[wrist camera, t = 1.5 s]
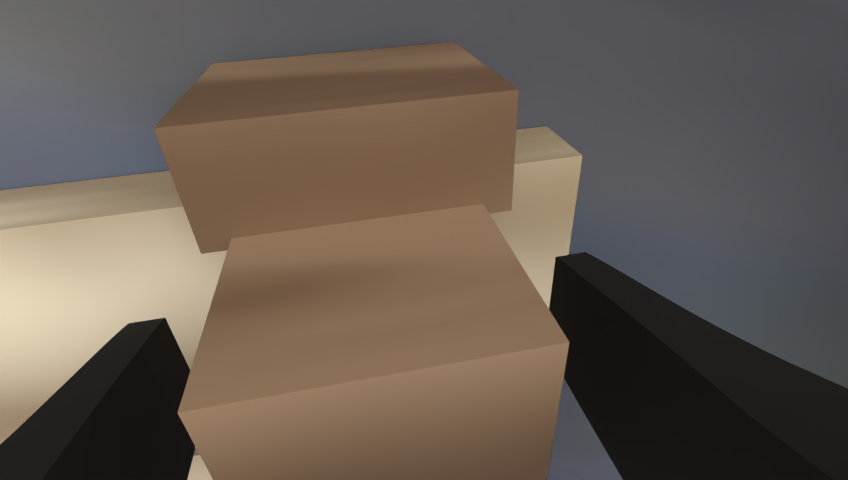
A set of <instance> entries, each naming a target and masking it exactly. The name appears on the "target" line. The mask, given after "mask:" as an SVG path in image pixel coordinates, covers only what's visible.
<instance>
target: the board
mask: <svg viewBox="0 0 848 480" xmlns="http://www.w3.org/2000/svg"><path fill="white" fill-rule="evenodd" d="M581 163H582V155H581V154H580V153H579V152H577V151H576V150H575V149H574V148H573V147H571V146H570V145H569V144H568V143H566V142H565V141H564V140H563V139H561V138H560V137H559V136H558V135H556V134H555V133H554V132H553V131H551V130H550V129H549V128H548V127H547V126H544V127H535V128H527V129H518V130H516V145H515V163H514V180H513V197H512V210H511V211H504V212H497V213H490V216H491V217H492V219H493V220H494V222H495V224H496V225H497V227H498V228H499V230H500V232H501V233H502V235H503V236H504V238H505V240H506V241H507V243H508V244H509V246H510V248H511V249H512V251H513V253H514V254H515V256H516V257H517V259H518V261H519V262H520V264H521V265H522V267H523V269H524V270H525V272H526V273H527V275H528V277H529V278H530V280H531V281H532V283H533V285H534V286H535V288H536V289H537V291H538V293H539V294H540V296H541V297H542V299H543V301H544V302H545V304H546V305H547V307H548V309H549V306H550V298H551V290H552V282H553V274H554V266H555V258H556V257H558V256H565V255H568V254H569V247H570V240H571V233H572V226H573V219H574V212H575V205H576V198H577V191H578V184H579V177H580V170H581ZM226 253H227V250H226V251H219V252H212V253H205V254H201V252H200V250H199V247H198V244H197V242H196V239H195V236H194V234H193V231H192V229H191V226H190V223H189V221H188V218H187V215H186V213H185V210H184V207H183V205H182V202H181V200H180V197H179V194H178V192H177V189H176V186H175V184H174V181H173V179H172V176H171V173H170V171H161V172H153V173H144V174H136V175H127V176H119V177H110V178H101V179H93V180H84V181H76V182H67V183H59V184H50V185H42V186H33V187H25V188H16V189H8V190H0V444H1V443H2V442H3V441H5V440H6V439H7V438H8V437H9V436H10V435H11V434H12V433H13V432H14V431H15V430H17V429H18V428H19V427H20V426H21V425H22V424H23V423H24V422H25V421H26V420H27V419H28V418H29V417H30V416H31V415H32V414H33V413H34V412H35V411H36V410H38V409H39V408H40V407H41V406H42V405H43V404H44V403H45V402H46V401H47V400H48V399H49V398H50V397H51V396H52V395H53V394H54V393H55V392H56V391H57V390H58V389H59V388H60V387H62V386H63V385H64V384H65V383H66V382H67V381H68V380H69V379H70V378H71V377H72V376H73V375H74V374H75V373H76V372H77V371H78V370H79V369H80V368H81V367H82V366H83V365H84V364H85V363H86V362H87V361H88V360H89V359H90V358H91V357H92V356H93V355H95V354H96V353H97V352H98V351H99V350H100V349H101V348H102V347H103V346H104V345H105V344H106V343H107V342H108V341H109V340H110V339H111V338H112V337H114V336H115V335H116V334H117V333H118V332H119V331H120V330H121V329H122V328H124V327H125V326H126V325H127V324H128V323H134V322H140V321H147V320H153V319H160V318H166V320H167V322H168V324H169V327H170V329H171V331H172V333H173V335H174V337H175V339H176V341H177V343H178V345H179V348H180V350H181V352H182V354H183V356H184V358H185V360H186V362H187V364H188V366H189V369H190V371H191V367H192V364H193V361H194V358H195V354H196V351H197V348H198V345H199V341H200V338H201V335H202V332H203V328H204V325H205V322H206V319H207V315H208V312H209V309H210V306H211V302H212V299H213V296H214V293H215V289H216V286H217V283H218V279H219V276H220V273H221V270H222V266H223V263H224V260H225V257H226ZM187 480H213V479H212V477H211V475H210V473H209V471H208V469H207V467H206V465H205V464H204V462H203V460H202V458H201V456H200V454H199V452H198V450H197V449H196V447H195V451H194V455H193V459H192V463H191V467H190V471H189V475H188V479H187Z"/></svg>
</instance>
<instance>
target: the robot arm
mask: <svg viewBox="0 0 848 480" xmlns="http://www.w3.org/2000/svg"><path fill="white" fill-rule="evenodd" d="M549 310H550V312H551V313H552V315H553V317H554V318H555V320H556V321H557V323H558V325H559V326H560V328H561V329H562V331H563V333H564V334H565V336H566V337H567V339H568V341H569V348H568V354H567V360H566V366H565V373H564V378H565V380H566V382H567V384H568V386H569V387H570V389H571V391H572V393H573V394H574V396H575V398H576V400H577V401H578V403H579V405H580V407H581V408H582V410H583V412H584V414H585V415H586V417H587V419H588V420H589V422H590V424H591V426H592V427H593V429H594V431H595V432H596V434H597V436H598V438H599V439H600V441H601V443H602V444H603V446H604V448H605V450H606V451H607V453H608V455H609V456H610V458H611V460H612V461H613V463H614V465H615V467H616V468H617V470H618V472H619V473H620V475H621V477H622V479H623V480H848V389H847V388H845V387H843V386H840V385H838V384H836V383H834V382H831V381H829V380H827V379H825V378H822V377H820V376H818V375H816V374H813V373H811V372H809V371H807V370H804V369H802V368H800V367H798V366H795V365H793V364H791V363H789V362H787V361H785V360H782V359H780V358H778V357H776V356H774V355H772V354H770V353H768V352H766V351H764V350H762V349H760V348H758V347H756V346H754V345H752V344H750V343H748V342H746V341H744V340H742V339H740V338H738V337H736V336H734V335H732V334H730V333H728V332H726V331H724V330H723V329H721V328H719V327H717V326H715V325H713V324H711V323H709V322H708V321H706V320H704V319H702V318H700V317H698V316H697V315H695V314H693V313H691V312H689V311H688V310H686V309H684V308H682V307H680V306H679V305H677V304H675V303H673V302H672V301H670V300H668V299H666V298H665V297H663V296H661V295H659V294H658V293H656V292H654V291H653V290H651V289H649V288H647V287H646V286H644V285H642V284H641V283H639V282H637V281H635V280H634V279H632V278H630V277H629V276H627V275H625V274H624V273H622V272H620V271H618V270H617V269H615V268H613V267H611V266H610V265H608V264H606V263H604V262H603V261H601V260H599V259H597V258H595V257H593V256H591V255H590V254H588V253H586V252H584V253H578V254H571V255H565V256H558V257H556V258H555V266H554V274H553V282H552V290H551V298H550V306H549ZM189 374H190V369H189V366H188V364H187V362H186V360H185V358H184V356H183V354H182V352H181V350H180V348H179V345H178V343H177V341H176V339H175V337H174V335H173V333H172V331H171V329H170V327H169V324H168V322H167V320H166V318H160V319H153V320H147V321H140V322H134V323H128V324H127V325H126V326H125V327H124V328H122V329H121V330H120V331H119V332H118V333H117V334H116V335H115V336H114V337H112V338H111V339H110V340H109V341H108V342H107V343H106V344H105V345H104V346H103V347H102V348H101V349H100V350H99V351H98V352H97V353H96V354H95V355H93V356H92V357H91V358H90V359H89V360H88V361H87V362H86V363H85V364H84V365H83V366H82V367H81V368H80V369H79V370H78V371H77V372H76V373H75V374H74V375H73V376H72V377H71V378H70V379H69V380H68V381H67V382H66V383H65V384H64V385H63V386H62V387H60V388H59V389H58V390H57V391H56V392H55V393H54V394H53V395H52V396H51V397H50V398H49V399H48V400H47V401H46V402H45V403H44V404H43V405H42V406H41V407H40V408H39V409H38V410H36V411H35V412H34V413H33V414H32V415H31V416H30V417H29V418H28V419H27V420H26V421H25V422H24V423H23V424H22V425H21V426H20V427H19V428H18V429H17V430H15V431H14V432H13V433H12V434H11V435H10V436H9V437H8V438H7V439H6V440H5V441H3V442H2V443H1V444H0V480H187V479H188V475H189V471H190V467H191V463H192V459H193V455H194V451H195V445H194V443H193V441H192V439H191V437H190V436H189V434H188V432H187V430H186V428H185V426H184V424H183V422H182V421H181V419H180V417H179V415H178V410H179V406H180V403H181V400H182V397H183V393H184V390H185V387H186V384H187V380H188V377H189Z"/></svg>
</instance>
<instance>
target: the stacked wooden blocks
mask: <svg viewBox="0 0 848 480" xmlns="http://www.w3.org/2000/svg"><path fill="white" fill-rule="evenodd" d="M518 94H519V89H517V88H516V87H515V86H513V85H512V84H510V83H509V82H508V81H506V80H505V79H504V78H502V77H501V76H500V75H498V74H497V73H495V72H494V71H493V70H491V69H490V68H489V67H487V66H486V65H485V64H483V63H482V62H480V61H479V60H478V59H476V58H475V57H474V56H472V55H471V54H470V53H468V52H467V51H465V50H464V49H463V48H461V47H460V46H459V45H457V44H456V43H455V42H444V43H433V44H422V45H411V46H400V47H389V48H379V49H368V50H357V51H346V52H335V53H324V54H313V55H302V56H291V57H280V58H269V59H258V60H247V61H236V62H225V63H214V64H212V65H211V66H210V67H209V68H208V69H207V70H206V72H205V73H204V74H203V75H202V76H201V77H200V78H199V79H198V80H197V81H196V82H195V84H194V85H193V86H192V87H191V88H190V89H189V90H188V91H187V92H186V93H185V94H184V96H183V97H182V98H181V99H180V100H179V101H178V102H177V103H176V104H175V105H174V107H173V108H172V109H171V110H170V111H169V112H168V113H167V114H166V115H165V116H164V117H163V119H162V120H161V121H160V122H159V123H158V124H157V125H156V126H155V127H154V131H155V134H156V136H157V139H158V142H159V144H160V147H161V150H162V152H163V155H164V157H165V160H166V163H167V165H168V168H169V171H170V173H171V176H172V179H173V181H174V184H175V186H176V189H177V192H178V194H179V197H180V200H181V202H182V205H183V207H184V210H185V213H186V215H187V218H188V221H189V223H190V226H191V229H192V231H193V234H194V236H195V239H196V242H197V244H198V247H199V250H200V252H201V254H205V253H212V252H219V251H226V250H227V253H226V257H225V260H224V263H223V266H222V270H221V273H220V276H219V279H218V283H217V286H216V289H215V293H214V296H213V299H212V302H211V306H210V309H209V312H208V315H207V319H206V322H205V325H204V328H203V332H202V335H201V338H200V341H199V345H198V348H197V351H196V354H195V358H194V361H193V364H192V367H191V371H190V374H189V377H188V380H187V384H186V387H185V390H184V393H183V397H182V400H181V403H180V406H179V410H178V415H179V417H180V419H181V421H182V422H183V424H184V426H185V428H186V430H187V432H188V434H189V436H190V437H191V439H192V441H193V443H194V445H195V447H196V449H197V450H198V452H199V454H200V456H201V458H202V460H203V462H204V464H205V465H206V467H207V469H208V471H209V473H210V475H211V477H212V479H213V480H547V476H548V470H549V464H550V457H551V451H552V445H553V439H554V433H555V427H556V421H557V415H558V409H559V403H560V397H561V391H562V385H563V379H564V373H565V366H566V360H567V354H568V348H569V341H568V339H567V337H566V336H565V334H564V333H563V331H562V329H561V328H560V326H559V325H558V323H557V321H556V320H555V318H554V317H553V315H552V313H551V312H550V310H549V309H548V307H547V305H546V304H545V302H544V301H543V299H542V297H541V296H540V294H539V293H538V291H537V289H536V288H535V286H534V285H533V283H532V281H531V280H530V278H529V277H528V275H527V273H526V272H525V270H524V269H523V267H522V265H521V264H520V262H519V261H518V259H517V257H516V256H515V254H514V253H513V251H512V249H511V248H510V246H509V244H508V243H507V241H506V240H505V238H504V236H503V235H502V233H501V232H500V230H499V228H498V227H497V225H496V224H495V222H494V220H493V219H492V217H491V216H490V213H497V212H504V211H511V210H512V197H513V180H514V163H515V145H516V128H517V111H518Z"/></svg>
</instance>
